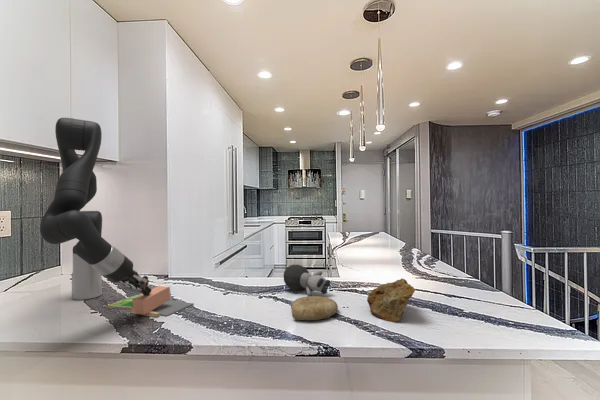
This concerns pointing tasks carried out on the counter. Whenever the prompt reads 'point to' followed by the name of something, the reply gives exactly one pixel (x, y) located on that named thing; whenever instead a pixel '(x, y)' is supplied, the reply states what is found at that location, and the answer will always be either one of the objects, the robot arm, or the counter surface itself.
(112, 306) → the green flat panel
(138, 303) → the block
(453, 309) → the counter surface
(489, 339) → the counter surface
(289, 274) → the toy
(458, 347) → the counter surface
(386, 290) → the rock
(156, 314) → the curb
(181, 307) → the mat
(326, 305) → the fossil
